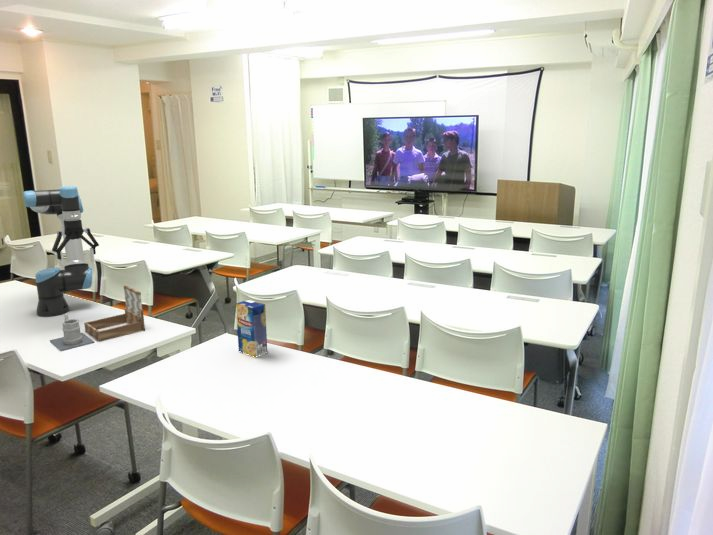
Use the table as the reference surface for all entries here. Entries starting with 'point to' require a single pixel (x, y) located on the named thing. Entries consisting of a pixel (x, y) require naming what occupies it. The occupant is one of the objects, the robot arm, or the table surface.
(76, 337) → the mug
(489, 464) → the table surface
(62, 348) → the slate mat
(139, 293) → the box
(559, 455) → the table surface
